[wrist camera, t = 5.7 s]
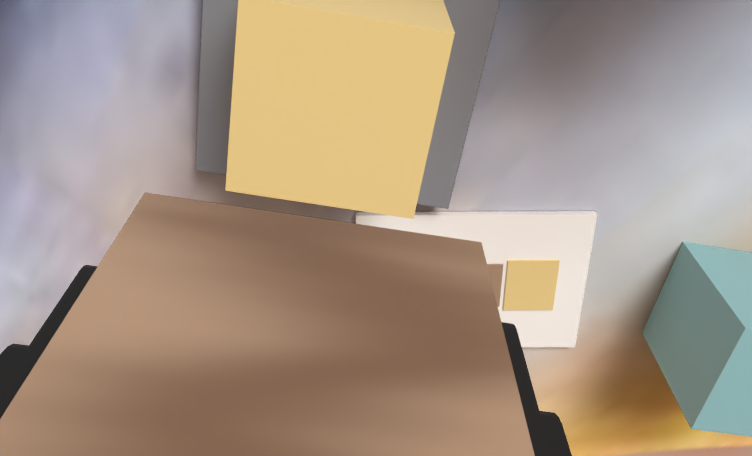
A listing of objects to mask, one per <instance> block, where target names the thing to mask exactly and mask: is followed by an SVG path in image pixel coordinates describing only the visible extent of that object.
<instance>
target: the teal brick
mask: <svg viewBox="0 0 752 456" xmlns="http://www.w3.org/2000/svg"><path fill="white" fill-rule="evenodd" d="M642 334H643V336H644V338H645V340H646V342H647V344H648V346H649V348H650V350H651V352H652V354H653V355H654V357H655V359H656V361H657V363H658V365H659V367H660V369H661V371H662V373H663V375H664V377H665V379H666V381H667V383H668V385H669V387H670V389H671V390H672V392H673V394H674V396H675V398H676V400H677V402H678V404H679V406H680V408H681V410H682V412H683V414H684V416H685V418H686V420H687V422H688V424H689V425H690V427H691V429H696V430H703V431H711V432H719V433H727V434H734V435H742V436H750V437H752V252H747V251H740V250H734V249H727V248H720V247H714V246H707V245H701V244H694V243H687V242H682V245H681V247H680V249H679V251H678V254H677V256H676V258H675V260H674V263H673V265H672V267H671V269H670V272H669V274H668V276H667V278H666V281H665V283H664V285H663V287H662V289H661V292H660V294H659V296H658V298H657V301H656V303H655V305H654V307H653V310H652V312H651V314H650V316H649V319H648V321H647V323H646V325H645V328H644V330H643V332H642Z"/></svg>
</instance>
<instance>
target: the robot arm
mask: <svg viewBox="0 0 752 456" xmlns="http://www.w3.org/2000/svg"><path fill="white" fill-rule="evenodd" d="M96 268H97V266H90V265H85V266H83V267H82V268H81V270H80V271H79V273H78V274H77V276H76V277H75V278H74V280H73V281H72V283H71V284H70V286H69V287H68V289H67V290H66V292H65V293H64V295H63V296H62V298H61V299H60V301H59V302H58V304H57V305H56V307H55V308H54V310H53V311H52V313H51V314H50V316H49V317H48V319H47V320H46V322H45V323H44V325H43V326H42V327H41V329H40V330H39V332H38V333H37V335H36V336H35V338H34V339H33V341H32V342H31V344H30V345H29V346H27V345H19V344H12V345H10V346H8V347H7V348H6V349H5V350H4V351H3V352H2V353H1V354H0V419H1V417H2V416H3V414H4V412H5V411H6V409H7V408H8V406H9V405H10V403H11V402H12V400H13V398H14V397H15V395H16V394H17V392H18V391H19V389H20V387H21V386H22V384H23V383H24V381H25V380H26V378H27V376H28V375H29V373H30V372H31V370H32V369H33V367H34V366H35V364H36V362H37V361H38V359H39V358H40V356H41V355H42V353H43V351H44V350H45V348H46V347H47V345H48V344H49V342H50V340H51V339H52V337H53V336H54V334H55V333H56V331H57V330H58V328H59V326H60V325H61V323H62V322H63V320H64V319H65V317H66V315H67V314H68V312H69V311H70V309H71V308H72V306H73V304H74V303H75V301H76V300H77V298H78V297H79V295H80V294H81V292H82V290H83V289H84V287H85V286H86V284H87V283H88V281H89V279H90V278H91V276H92V275H93V273H94V272H95V270H96ZM501 323H502V327H503V331H504V335H505V339H506V343H507V347H508V351H509V355H510V359H511V363H512V367H513V371H514V375H515V379H516V383H517V387H518V391H519V395H520V399H521V403H522V407H523V411H524V415H525V419H526V423H527V427H528V431H529V435H530V439H531V443H532V447H533V451H534V455H535V456H572V455H571V452H570V449H569V445H568V442H567V439H566V436H565V432H564V429H563V426H562V423H561V421H560V419H559V417H558V416H557V415H556V414H555V413H551V412H543V411H539V409H538V405H537V401H536V398H535V394H534V390H533V387H532V383H531V380H530V376H529V372H528V369H527V365H526V361H525V358H524V354H523V351H522V347H521V343H520V340H519V336H518V332H517V329H516V327H515V325H514V324H511V323H504V322H501Z"/></svg>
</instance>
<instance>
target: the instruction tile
mask: <svg viewBox="0 0 752 456" xmlns="http://www.w3.org/2000/svg"><path fill="white" fill-rule="evenodd" d="M596 220H597V213H596V211H524V212H415V214H414V219H410V218H404V217H397V216H390V215H384V214H377V213H370V212H356V224H361V225H368V226H375V227H382V228H388V229H395V230H402V231H409V232H415V233H422V234H429V235H436V236H443V237H449V238H456V239H463V240H470V241H476V242H482V246H483V250H484V254H485V258H486V262H487V266H488V270H489V275H490V279H491V283H492V287H493V291H494V295H495V299H496V303H497V307H498V311H499V315H500V319H501V322H504V323H511V324H514V325H515V327H516V329H517V332H518V336H519V340H520V343H521V347H575V343H576V338H577V332H578V326H579V320H580V314H581V308H582V302H583V296H584V290H585V284H586V279H587V273H588V267H589V261H590V255H591V249H592V243H593V237H594V231H595V225H596Z"/></svg>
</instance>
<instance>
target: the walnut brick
mask: <svg viewBox="0 0 752 456" xmlns="http://www.w3.org/2000/svg"><path fill="white" fill-rule="evenodd" d="M0 456H535V455H534V451H533V447H532V443H531V439H530V435H529V431H528V427H527V423H526V419H525V415H524V411H523V407H522V403H521V399H520V395H519V391H518V387H517V383H516V379H515V375H514V371H513V367H512V363H511V359H510V355H509V351H508V347H507V343H506V339H505V335H504V331H503V327H502V323H501V319H500V315H499V311H498V307H497V303H496V299H495V295H494V291H493V287H492V283H491V279H490V275H489V270H488V266H487V262H486V258H485V254H484V250H483V246H482V242H476V241H470V240H463V239H456V238H449V237H443V236H436V235H429V234H422V233H415V232H409V231H402V230H395V229H388V228H382V227H375V226H368V225H361V224H354V223H348V222H341V221H334V220H327V219H321V218H314V217H307V216H300V215H293V214H287V213H280V212H273V211H266V210H259V209H253V208H246V207H239V206H232V205H226V204H219V203H212V202H205V201H198V200H192V199H185V198H178V197H171V196H165V195H158V194H151V193H144V195H143V196H142V198H141V200H140V201H139V203H138V204H137V206H136V207H135V209H134V211H133V212H132V214H131V215H130V217H129V218H128V220H127V222H126V223H125V225H124V226H123V228H122V229H121V231H120V232H119V234H118V236H117V237H116V239H115V240H114V242H113V243H112V245H111V247H110V248H109V250H108V251H107V253H106V254H105V256H104V258H103V259H102V261H101V262H100V264H99V265H98V267H97V268H96V270H95V272H94V273H93V275H92V276H91V278H90V279H89V281H88V283H87V284H86V286H85V287H84V289H83V290H82V292H81V294H80V295H79V297H78V298H77V300H76V301H75V303H74V304H73V306H72V308H71V309H70V311H69V312H68V314H67V315H66V317H65V319H64V320H63V322H62V323H61V325H60V326H59V328H58V330H57V331H56V333H55V334H54V336H53V337H52V339H51V340H50V342H49V344H48V345H47V347H46V348H45V350H44V351H43V353H42V355H41V356H40V358H39V359H38V361H37V362H36V364H35V366H34V367H33V369H32V370H31V372H30V373H29V375H28V376H27V378H26V380H25V381H24V383H23V384H22V386H21V387H20V389H19V391H18V392H17V394H16V395H15V397H14V398H13V400H12V402H11V403H10V405H9V406H8V408H7V409H6V411H5V412H4V414H3V416H2V417H1V419H0Z"/></svg>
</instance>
